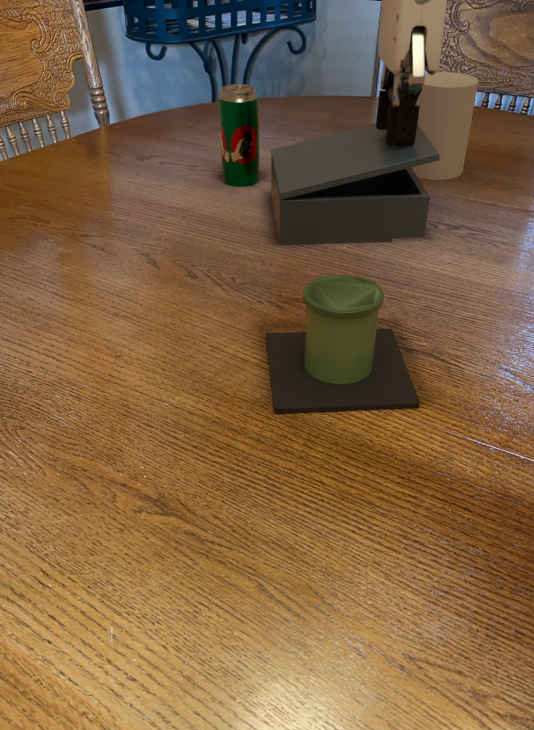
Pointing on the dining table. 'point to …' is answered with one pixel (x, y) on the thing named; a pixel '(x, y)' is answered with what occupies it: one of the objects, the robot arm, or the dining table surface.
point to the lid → (345, 158)
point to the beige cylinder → (446, 122)
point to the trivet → (308, 394)
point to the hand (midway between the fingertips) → (394, 135)
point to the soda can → (239, 135)
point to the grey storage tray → (353, 211)
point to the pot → (341, 327)
